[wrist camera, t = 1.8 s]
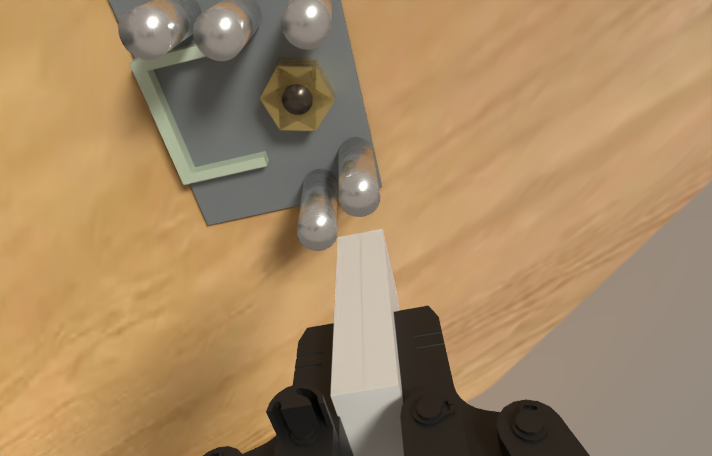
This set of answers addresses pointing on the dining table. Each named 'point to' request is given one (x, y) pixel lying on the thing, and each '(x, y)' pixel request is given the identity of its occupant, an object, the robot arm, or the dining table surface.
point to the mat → (259, 115)
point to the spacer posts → (223, 42)
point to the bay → (170, 128)
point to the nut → (298, 94)
